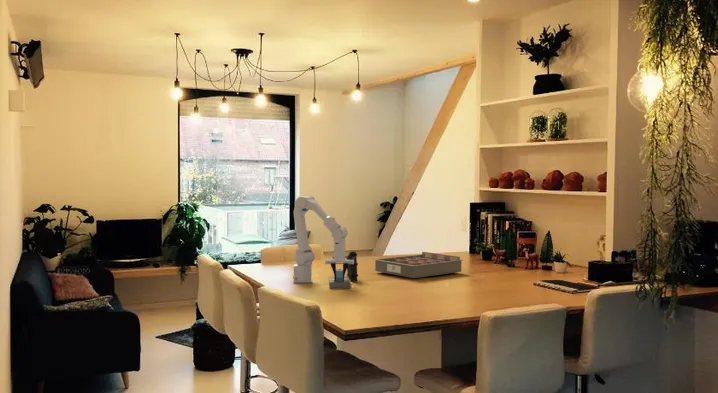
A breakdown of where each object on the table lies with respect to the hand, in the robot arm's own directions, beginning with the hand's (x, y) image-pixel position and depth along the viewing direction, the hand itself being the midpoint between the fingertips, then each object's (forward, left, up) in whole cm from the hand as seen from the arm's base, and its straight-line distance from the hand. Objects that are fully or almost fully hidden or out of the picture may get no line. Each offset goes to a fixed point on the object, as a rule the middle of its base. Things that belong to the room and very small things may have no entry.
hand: (339, 278), depth 304 cm
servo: (0, 0, -2) cm, 2 cm away
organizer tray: (+47, +38, -4) cm, 60 cm away
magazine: (+7, +17, -4) cm, 19 cm away
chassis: (0, 0, -3) cm, 3 cm away
